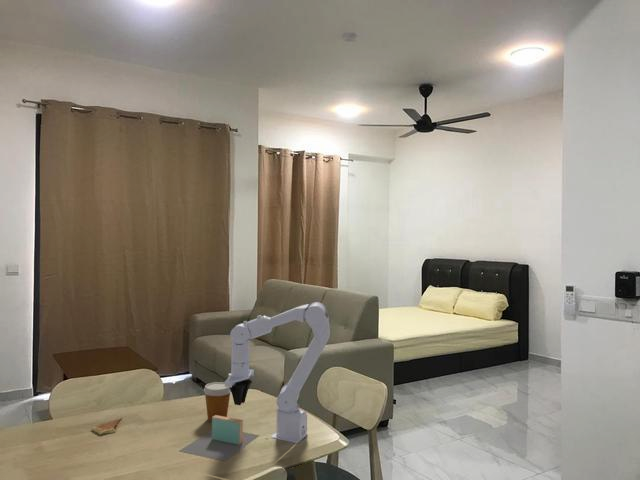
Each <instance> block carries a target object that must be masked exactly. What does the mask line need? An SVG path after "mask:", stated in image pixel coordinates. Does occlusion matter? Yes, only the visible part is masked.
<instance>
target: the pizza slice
mask: <svg viewBox="0 0 640 480" xmlns="http://www.w3.org/2000/svg"><path fill="white" fill-rule="evenodd" d="M122 421H123V417H121V418H117V419H114V420H111V421H110V420H108V421H107V422H103V423H99V424H97V425H93V426H92V428H91V430H92V431H93V432H95V433H97V434H99V435H104V434H111V433H116V432H117V429H118V428H119V427H120V425H121V424H122Z"/></svg>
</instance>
